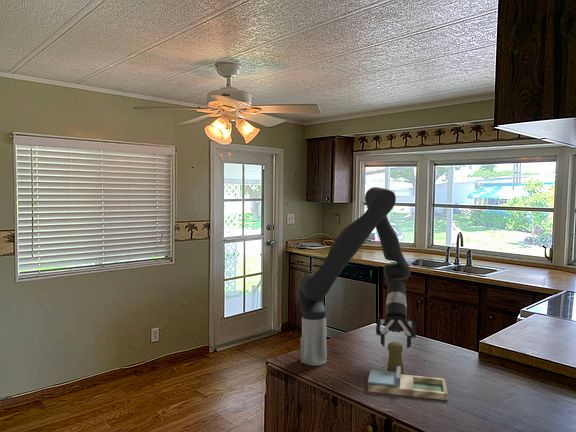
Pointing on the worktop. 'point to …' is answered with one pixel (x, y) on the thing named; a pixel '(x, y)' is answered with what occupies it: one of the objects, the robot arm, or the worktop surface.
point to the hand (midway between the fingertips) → (395, 346)
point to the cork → (395, 357)
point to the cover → (385, 377)
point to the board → (415, 387)
